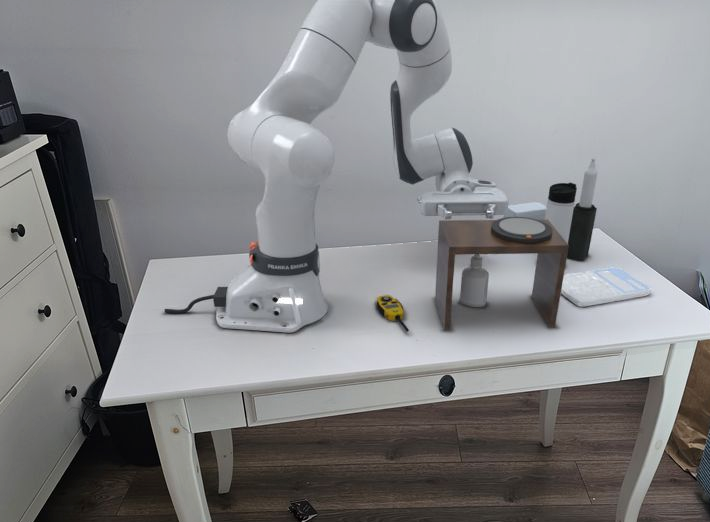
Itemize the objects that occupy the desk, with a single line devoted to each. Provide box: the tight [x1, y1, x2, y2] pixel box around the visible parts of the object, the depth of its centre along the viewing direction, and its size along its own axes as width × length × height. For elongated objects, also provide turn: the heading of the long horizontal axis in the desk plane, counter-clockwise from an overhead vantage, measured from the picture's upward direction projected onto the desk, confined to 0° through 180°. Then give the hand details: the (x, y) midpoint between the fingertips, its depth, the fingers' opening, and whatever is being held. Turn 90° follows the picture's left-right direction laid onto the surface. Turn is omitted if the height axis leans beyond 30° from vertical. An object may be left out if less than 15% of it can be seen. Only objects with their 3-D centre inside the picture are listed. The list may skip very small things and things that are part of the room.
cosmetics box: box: [502, 201, 547, 220], centre depth 161 cm, size 10×6×10 cm, turn 113°
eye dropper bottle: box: [459, 254, 490, 308], centre depth 132 cm, size 4×6×12 cm
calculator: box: [561, 266, 652, 308], centre depth 142 cm, size 13×20×2 cm, turn 112°
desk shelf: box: [434, 219, 569, 332], centre depth 127 cm, size 23×14×18 cm, turn 96°
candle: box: [567, 157, 598, 262], centre depth 152 cm, size 5×5×25 cm
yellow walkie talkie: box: [376, 294, 410, 333], centre depth 128 cm, size 5×2×15 cm
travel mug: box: [545, 181, 578, 244], centre depth 148 cm, size 6×7×20 cm
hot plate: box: [491, 217, 553, 244], centre depth 122 cm, size 12×12×1 cm
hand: (469, 215), depth 136 cm, fingers open, 8 cm apart
